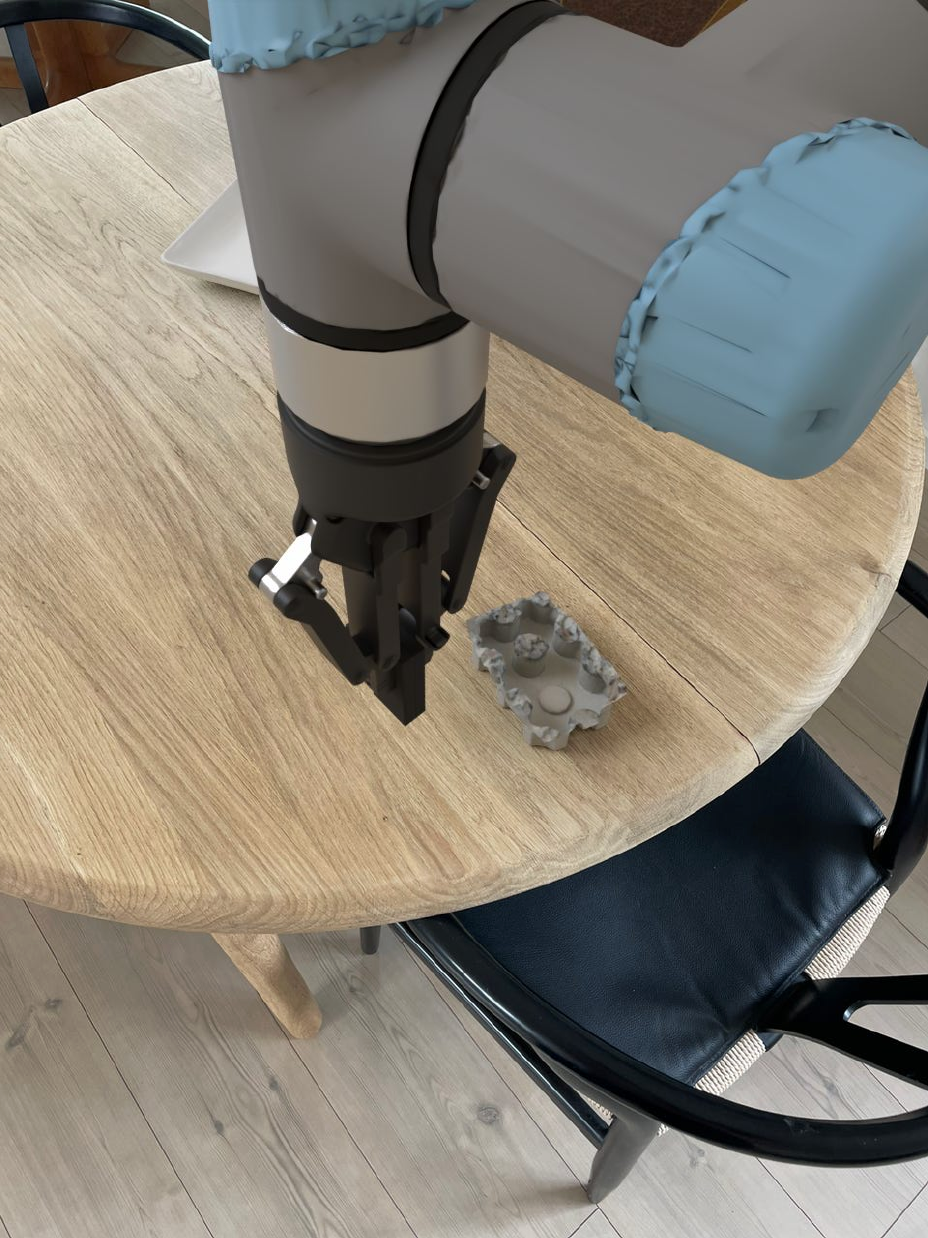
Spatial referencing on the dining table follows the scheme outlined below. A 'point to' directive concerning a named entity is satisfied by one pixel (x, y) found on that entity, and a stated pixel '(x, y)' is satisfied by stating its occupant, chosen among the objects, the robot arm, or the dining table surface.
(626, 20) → the book
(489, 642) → the egg carton
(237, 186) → the plate
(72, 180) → the dining table surface
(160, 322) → the dining table surface
